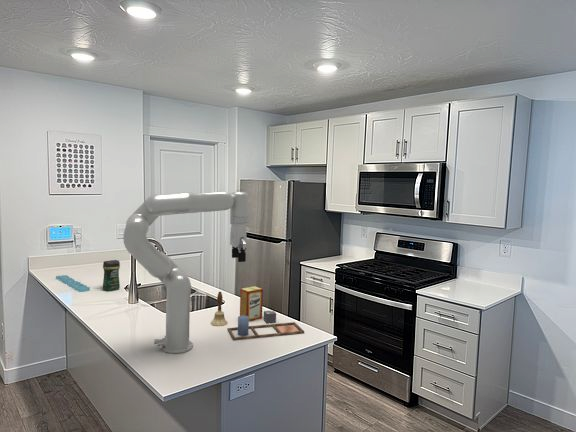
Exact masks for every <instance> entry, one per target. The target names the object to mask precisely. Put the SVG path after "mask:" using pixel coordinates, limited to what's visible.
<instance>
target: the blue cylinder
mask: <svg viewBox="0 0 576 432" xmlns="http://www.w3.org/2000/svg"><path fill="white" fill-rule="evenodd" d="M249 324H250V321H249V317H248V316H245V315H242V316H240V315H238V316H237V327H238V330H237V335H238V337H243V336H249V330H250V329H249V326H250V325H249Z"/></svg>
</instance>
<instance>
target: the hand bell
mask: <svg viewBox="0 0 576 432" xmlns="http://www.w3.org/2000/svg"><path fill="white" fill-rule="evenodd" d="M216 301H217V311H215V313H214V317H213V319H212V320H211V321H210V325H211V326H214V327H222V326H223V327H224V326H226V325H228V321H227V320H226V317H225V312H224V311H222V303H223V294H222V291H218V294H217V299H216Z"/></svg>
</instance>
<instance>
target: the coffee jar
mask: <svg viewBox="0 0 576 432" xmlns="http://www.w3.org/2000/svg"><path fill="white" fill-rule="evenodd" d="M102 265H103V266H102V269H103V281H102V290H103V291H105V292H106V291H107V292H110V291H111V292H112V291H117V290H120V286H121V284H120V271H119V270H120V268H121V264H120V260H117V259H113V260H112V259H111V260H104V261H103V264H102Z"/></svg>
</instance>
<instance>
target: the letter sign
mask: <svg viewBox="0 0 576 432" xmlns="http://www.w3.org/2000/svg"><path fill="white" fill-rule="evenodd" d="M55 279H56V280H58V281H59V282H61V283H63V284H65V285H66V286H68V287H70V288H71V289H74V290H75V291H78V293H85V292H89V291H91V290H90V289H91V287H90V286H87V285H86V284H84V283H81V281H76V280H75V279H74V278H73V277H70V276H69V275H68V274H67V275H66V274H65V275H64V274H62V275H56V276H55Z"/></svg>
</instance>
